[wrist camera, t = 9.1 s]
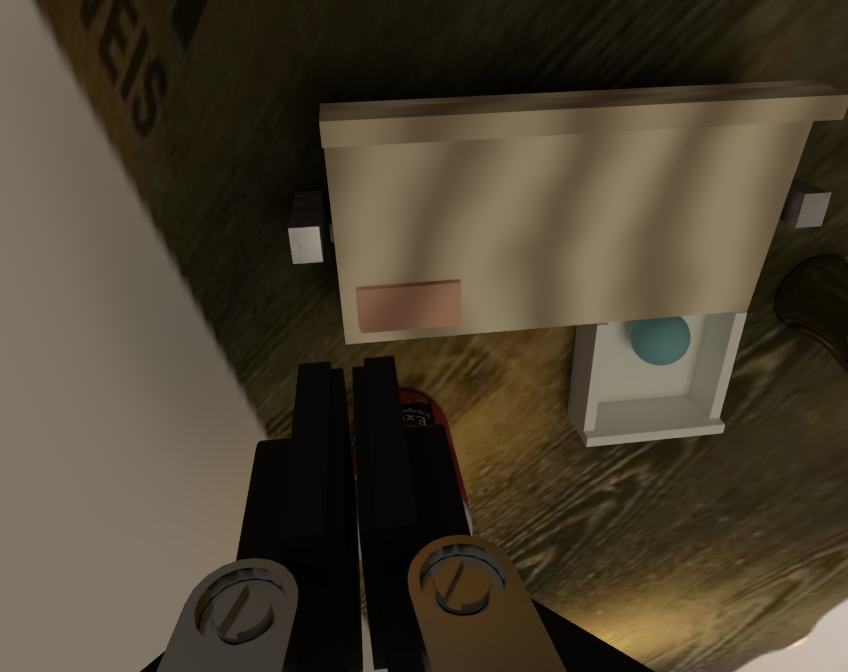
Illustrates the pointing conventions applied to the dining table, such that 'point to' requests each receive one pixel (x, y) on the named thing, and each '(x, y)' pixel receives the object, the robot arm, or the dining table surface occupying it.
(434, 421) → the canned food
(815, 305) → the beer glass
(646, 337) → the ball
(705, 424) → the white open box
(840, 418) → the dining table surface
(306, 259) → the lever stand
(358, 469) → the robot arm
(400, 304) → the lever
